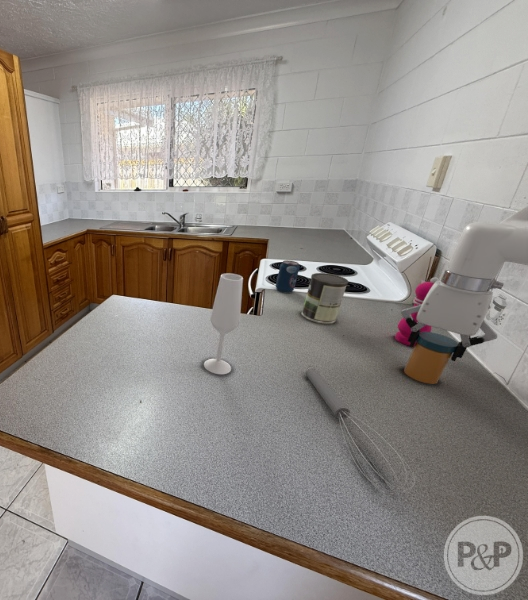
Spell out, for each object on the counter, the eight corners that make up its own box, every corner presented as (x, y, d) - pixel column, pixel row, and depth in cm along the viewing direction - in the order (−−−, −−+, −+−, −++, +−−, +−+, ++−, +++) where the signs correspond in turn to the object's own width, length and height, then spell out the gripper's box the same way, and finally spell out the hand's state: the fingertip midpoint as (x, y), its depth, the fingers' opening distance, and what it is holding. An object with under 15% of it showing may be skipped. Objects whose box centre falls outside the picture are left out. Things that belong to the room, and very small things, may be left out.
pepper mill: (421, 339, 93) (450, 276, 85) (426, 350, 88) (458, 284, 80) (391, 332, 97) (416, 271, 89) (394, 343, 91) (421, 278, 83)
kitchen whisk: (319, 372, 77) (326, 351, 75) (415, 510, 47) (432, 482, 44) (293, 370, 78) (299, 348, 75) (371, 505, 47) (386, 476, 45)
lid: (431, 336, 77) (433, 330, 76) (463, 351, 71) (467, 345, 70) (408, 338, 76) (410, 332, 75) (439, 354, 70) (442, 348, 69)
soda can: (292, 294, 124) (299, 266, 119) (273, 291, 127) (279, 262, 123) (294, 289, 129) (301, 261, 125) (276, 286, 133) (282, 258, 128)
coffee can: (296, 316, 106) (307, 277, 100) (307, 307, 113) (317, 270, 107) (330, 327, 99) (343, 286, 94) (339, 317, 106) (352, 278, 100)
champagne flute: (223, 378, 75) (239, 284, 65) (198, 366, 79) (210, 276, 69) (235, 366, 79) (252, 276, 69) (212, 355, 83) (224, 270, 74)
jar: (429, 370, 79) (445, 336, 75) (443, 386, 73) (462, 350, 69) (399, 365, 81) (413, 332, 77) (411, 380, 75) (427, 345, 71)
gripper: (527, 289, 63) (485, 362, 70) (416, 268, 75) (390, 332, 82) (528, 298, 59) (483, 375, 66) (410, 274, 71) (383, 342, 78)
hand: (432, 351), depth 74 cm, fingers closed on lid, 6 cm apart
